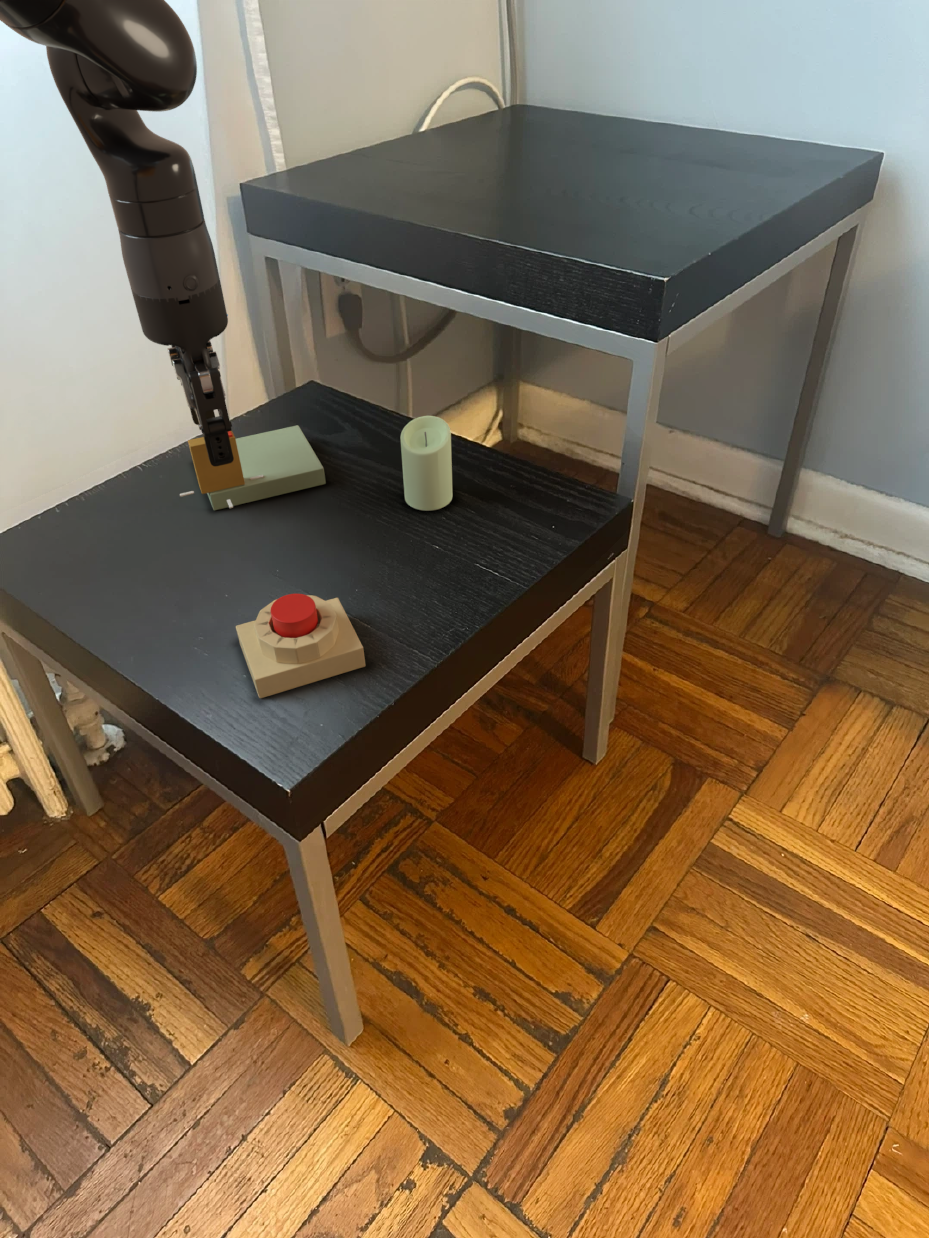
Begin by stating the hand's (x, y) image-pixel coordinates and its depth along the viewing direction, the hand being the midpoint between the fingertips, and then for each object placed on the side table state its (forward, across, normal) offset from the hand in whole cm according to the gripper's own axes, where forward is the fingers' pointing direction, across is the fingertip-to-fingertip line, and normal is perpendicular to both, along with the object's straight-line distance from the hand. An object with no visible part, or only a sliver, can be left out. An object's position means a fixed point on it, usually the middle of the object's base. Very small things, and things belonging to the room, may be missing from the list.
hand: (213, 442), depth 87 cm
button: (+3, +26, +1) cm, 26 cm away
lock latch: (+5, 0, 0) cm, 5 cm away
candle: (+7, +8, +19) cm, 22 cm away
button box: (+7, +26, +1) cm, 27 cm away
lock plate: (+7, -2, +3) cm, 8 cm away
